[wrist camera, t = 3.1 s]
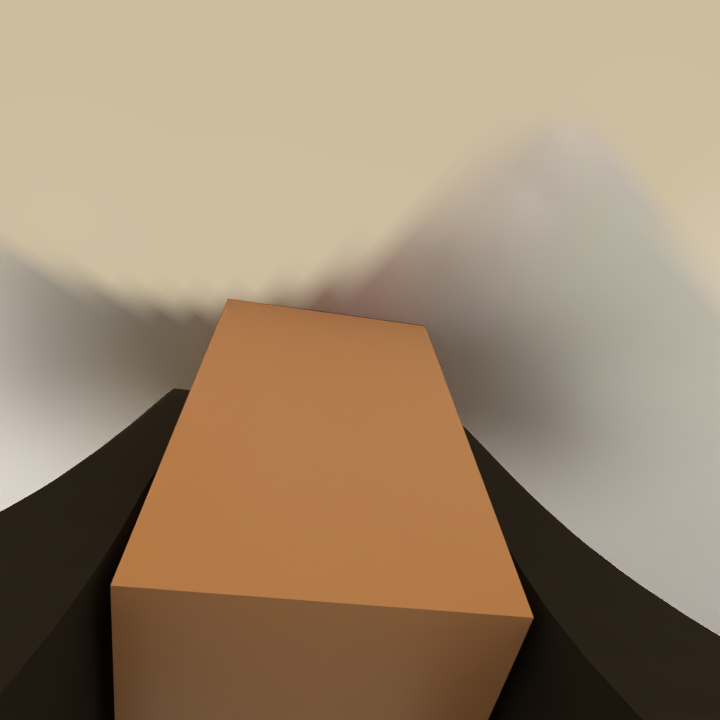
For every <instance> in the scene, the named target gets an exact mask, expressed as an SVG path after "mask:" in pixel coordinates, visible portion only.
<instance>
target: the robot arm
mask: <svg viewBox="0 0 720 720" xmlns="http://www.w3.org/2000/svg"><path fill="white" fill-rule="evenodd" d="M189 393H190V390H182V389H173V390H172V391H170V392H169V393H167V394H166V395H165V396H164V397H163V398H161V399H160V400H159V401H158V402H157V403H156V404H154V405H153V406H152V407H151V408H150V409H148V410H147V411H146V412H145V413H144V414H143V415H141V416H140V417H139V418H138V419H137V420H135V421H134V422H133V423H132V424H131V425H129V426H128V427H127V428H125V429H124V430H123V431H122V432H120V433H119V434H118V435H117V436H115V437H114V438H113V439H111V440H110V441H109V442H108V443H106V444H105V445H104V446H102V447H101V448H100V449H98V450H97V451H96V452H94V453H93V454H92V455H90V456H89V457H87V458H86V459H84V460H83V461H82V462H80V463H79V464H77V465H76V466H74V467H73V468H71V469H70V470H69V471H67V472H66V473H64V474H63V475H61V476H60V477H59V478H57V479H55V480H54V481H52V482H51V483H49V484H48V485H46V486H44V487H43V488H41V489H40V490H38V491H36V492H35V493H33V494H31V495H29V496H28V497H26V498H24V499H22V500H21V501H19V502H17V503H15V504H13V505H12V506H10V507H8V508H6V509H5V510H3V511H1V512H0V720H115V712H114V681H113V650H112V619H111V587H110V585H111V583H112V580H113V578H114V576H115V573H116V571H117V568H118V566H119V563H120V561H121V558H122V556H123V554H124V551H125V549H126V546H127V544H128V541H129V539H130V537H131V534H132V532H133V529H134V527H135V524H136V522H137V519H138V517H139V515H140V512H141V510H142V507H143V505H144V502H145V500H146V498H147V495H148V493H149V490H150V488H151V485H152V483H153V480H154V478H155V476H156V473H157V471H158V468H159V466H160V463H161V461H162V458H163V456H164V454H165V451H166V449H167V446H168V444H169V441H170V439H171V437H172V434H173V432H174V429H175V427H176V424H177V422H178V419H179V417H180V415H181V412H182V410H183V407H184V405H185V402H186V400H187V398H188V395H189ZM462 426H463V425H462ZM463 429H464V432H465V434H466V437H467V440H468V442H469V445H470V448H471V450H472V453H473V456H474V459H475V461H476V464H477V467H478V469H479V472H480V475H481V477H482V480H483V483H484V485H485V488H486V491H487V493H488V496H489V499H490V502H491V504H492V507H493V510H494V512H495V515H496V518H497V520H498V523H499V526H500V528H501V531H502V534H503V536H504V539H505V542H506V545H507V547H508V550H509V553H510V555H511V558H512V561H513V563H514V566H515V569H516V571H517V574H518V577H519V580H520V582H521V585H522V588H523V590H524V593H525V596H526V598H527V601H528V604H529V606H530V609H531V612H532V614H533V617H534V618H533V620H532V623H531V625H530V627H529V629H528V632H527V634H526V636H525V638H524V641H523V643H522V645H521V647H520V650H519V652H518V654H517V656H516V659H515V661H514V663H513V665H512V668H511V670H510V672H509V674H508V677H507V679H506V681H505V683H504V685H503V688H502V690H501V692H500V694H499V697H498V699H497V701H496V703H495V706H494V708H493V710H492V712H491V715H490V717H489V719H488V720H720V636H719V635H717V634H715V633H714V632H712V631H710V630H709V629H707V628H705V627H704V626H702V625H701V624H699V623H697V622H696V621H694V620H692V619H691V618H689V617H688V616H686V615H684V614H683V613H681V612H680V611H678V610H677V609H675V608H674V607H672V606H671V605H669V604H668V603H666V602H665V601H663V600H662V599H660V598H659V597H657V596H656V595H654V594H653V593H651V592H650V591H648V590H647V589H645V588H644V587H642V586H641V585H639V584H638V583H637V582H635V581H634V580H632V579H631V578H630V577H628V576H627V575H625V574H624V573H623V572H621V571H620V570H619V569H617V568H616V567H615V566H613V565H612V564H611V563H610V562H608V561H607V560H606V559H604V558H603V557H602V556H601V555H599V554H598V553H597V552H595V551H594V550H593V549H592V548H590V547H589V546H588V545H586V544H585V543H584V542H583V541H582V540H580V539H579V538H578V537H577V536H576V535H574V534H573V533H572V532H571V531H570V530H568V529H567V528H566V527H565V526H564V525H563V524H562V523H561V522H560V521H558V520H557V519H556V518H555V517H554V516H553V515H552V514H551V513H550V512H548V511H547V510H546V509H545V508H544V507H543V506H542V505H541V504H540V503H539V502H538V501H537V500H535V499H534V498H533V497H532V496H531V495H530V494H529V493H528V492H527V491H526V490H525V489H524V488H523V487H522V486H521V485H520V484H519V483H518V482H517V481H516V480H515V479H514V478H513V477H512V476H511V475H510V474H509V473H508V472H507V471H506V470H505V469H504V468H503V467H502V466H501V465H500V464H499V463H498V461H497V460H496V459H495V458H494V457H493V456H492V455H491V454H490V453H489V452H488V451H487V450H486V449H485V448H484V447H483V446H482V445H481V444H480V443H479V442H478V441H477V439H476V438H475V437H474V436H473V435H472V434H471V433H470V432H469V431H468V430H467V429H466V428H465V427H464V426H463Z"/></svg>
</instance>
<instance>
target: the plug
mask: <svg viewBox="0 0 720 720" xmlns="http://www.w3.org/2000/svg"><path fill="white" fill-rule="evenodd" d="M110 587H111V619H112V650H113V681H114V712H115V720H488V719H489V717H490V715H491V712H492V710H493V708H494V706H495V703H496V701H497V699H498V697H499V694H500V692H501V690H502V688H503V685H504V683H505V681H506V679H507V677H508V674H509V672H510V670H511V668H512V665H513V663H514V661H515V659H516V656H517V654H518V652H519V650H520V647H521V645H522V643H523V641H524V638H525V636H526V634H527V632H528V629H529V627H530V625H531V623H532V620H533V618H534V617H533V614H532V612H531V609H530V606H529V604H528V601H527V598H526V596H525V593H524V590H523V588H522V585H521V582H520V580H519V577H518V574H517V571H516V569H515V566H514V563H513V561H512V558H511V555H510V553H509V550H508V547H507V545H506V542H505V539H504V536H503V534H502V531H501V528H500V526H499V523H498V520H497V518H496V515H495V512H494V510H493V507H492V504H491V502H490V499H489V496H488V493H487V491H486V488H485V485H484V483H483V480H482V477H481V475H480V472H479V469H478V467H477V464H476V461H475V459H474V456H473V453H472V450H471V448H470V445H469V442H468V440H467V437H466V434H465V432H464V429H463V426H462V424H461V421H460V418H459V416H458V413H457V410H456V407H455V405H454V402H453V399H452V397H451V394H450V391H449V389H448V386H447V383H446V381H445V378H444V375H443V372H442V370H441V367H440V364H439V362H438V359H437V356H436V354H435V351H434V348H433V346H432V343H431V340H430V338H429V335H428V332H427V329H426V327H425V326H420V325H413V324H406V323H398V322H391V321H384V320H377V319H369V318H362V317H355V316H348V315H341V314H333V313H326V312H319V311H312V310H304V309H297V308H290V307H283V306H275V305H268V304H261V303H254V302H247V301H239V300H232V299H228V300H227V302H226V305H225V307H224V310H223V312H222V315H221V317H220V319H219V322H218V324H217V327H216V329H215V332H214V334H213V337H212V339H211V341H210V344H209V346H208V349H207V351H206V354H205V356H204V358H203V361H202V363H201V366H200V368H199V371H198V373H197V376H196V378H195V380H194V383H193V385H192V388H191V390H190V393H189V395H188V398H187V400H186V402H185V405H184V407H183V410H182V412H181V415H180V417H179V419H178V422H177V424H176V427H175V429H174V432H173V434H172V437H171V439H170V441H169V444H168V446H167V449H166V451H165V454H164V456H163V458H162V461H161V463H160V466H159V468H158V471H157V473H156V476H155V478H154V480H153V483H152V485H151V488H150V490H149V493H148V495H147V498H146V500H145V502H144V505H143V507H142V510H141V512H140V515H139V517H138V519H137V522H136V524H135V527H134V529H133V532H132V534H131V537H130V539H129V541H128V544H127V546H126V549H125V551H124V554H123V556H122V558H121V561H120V563H119V566H118V568H117V571H116V573H115V576H114V578H113V580H112V583H111V585H110Z"/></svg>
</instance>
